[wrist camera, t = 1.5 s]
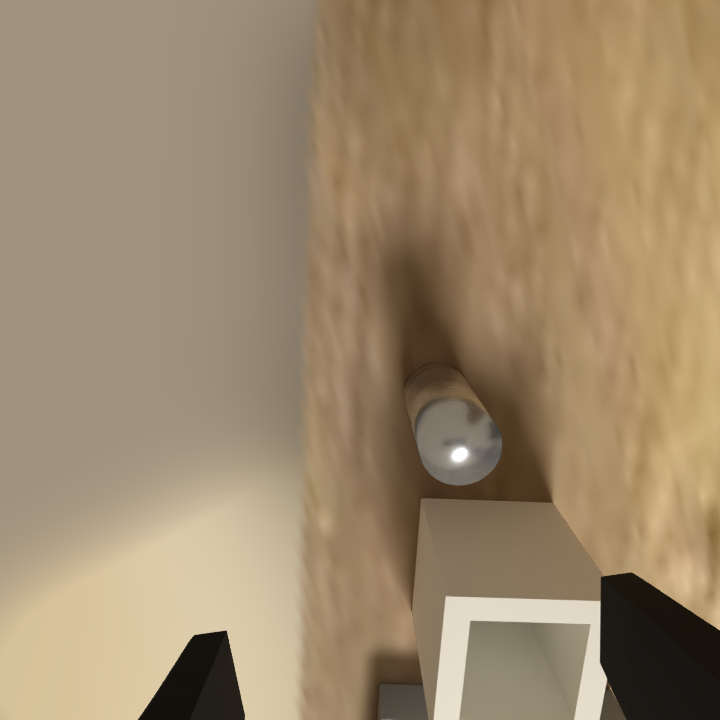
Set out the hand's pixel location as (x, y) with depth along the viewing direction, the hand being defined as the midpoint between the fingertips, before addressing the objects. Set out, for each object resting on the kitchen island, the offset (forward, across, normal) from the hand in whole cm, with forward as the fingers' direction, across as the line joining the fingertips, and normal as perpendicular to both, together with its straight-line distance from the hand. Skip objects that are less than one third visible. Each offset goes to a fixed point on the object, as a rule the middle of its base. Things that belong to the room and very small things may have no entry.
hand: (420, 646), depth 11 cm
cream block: (+11, -4, +6) cm, 13 cm away
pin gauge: (+11, -3, -1) cm, 12 cm away
